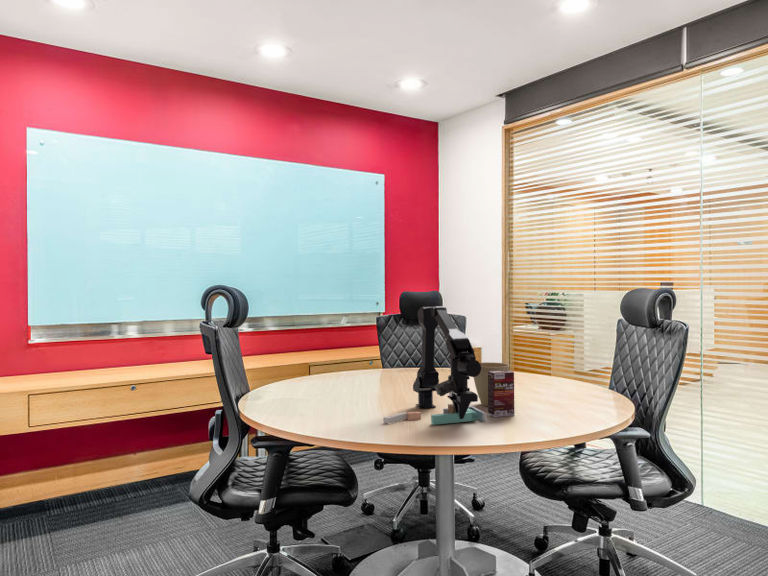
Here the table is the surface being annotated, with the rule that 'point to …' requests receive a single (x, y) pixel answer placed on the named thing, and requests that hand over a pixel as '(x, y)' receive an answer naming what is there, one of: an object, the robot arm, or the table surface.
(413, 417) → the offcut
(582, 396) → the table surface
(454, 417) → the crook
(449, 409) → the block
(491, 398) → the supplement box
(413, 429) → the table surface
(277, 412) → the table surface
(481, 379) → the plant pot
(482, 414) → the gray angle bracket
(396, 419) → the stick
